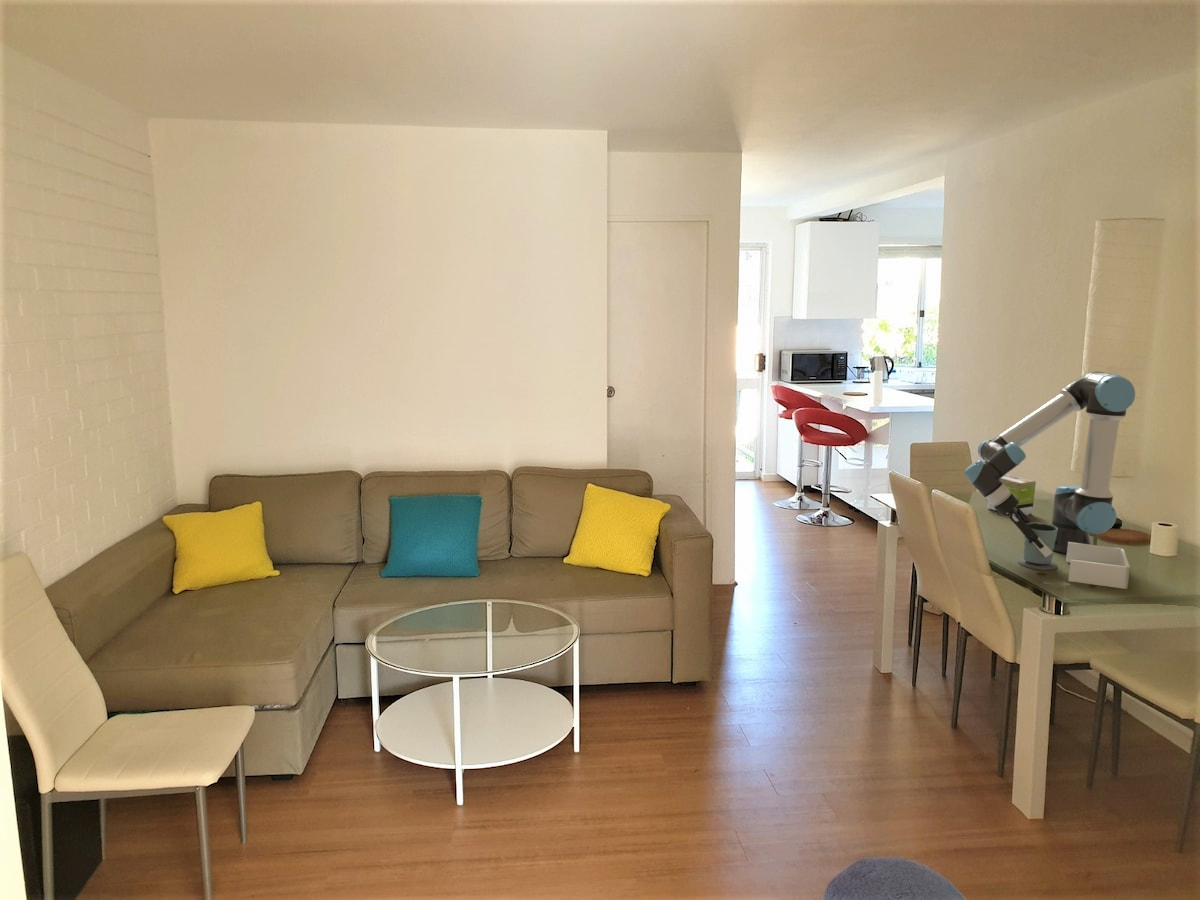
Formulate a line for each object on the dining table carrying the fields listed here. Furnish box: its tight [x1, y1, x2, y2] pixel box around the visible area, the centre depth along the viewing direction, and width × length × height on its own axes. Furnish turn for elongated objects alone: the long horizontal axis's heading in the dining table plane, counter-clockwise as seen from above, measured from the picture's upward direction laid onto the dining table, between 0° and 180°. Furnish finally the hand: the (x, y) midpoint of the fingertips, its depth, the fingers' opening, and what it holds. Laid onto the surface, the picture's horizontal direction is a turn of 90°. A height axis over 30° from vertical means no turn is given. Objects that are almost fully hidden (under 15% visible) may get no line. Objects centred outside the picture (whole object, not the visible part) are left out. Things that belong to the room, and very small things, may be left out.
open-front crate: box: [1065, 542, 1131, 590], centre depth 288 cm, size 23×16×7 cm
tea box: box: [987, 473, 1037, 516], centre depth 367 cm, size 15×10×15 cm
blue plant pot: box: [1023, 522, 1058, 564], centre depth 297 cm, size 10×10×12 cm
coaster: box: [1017, 557, 1058, 571], centre depth 299 cm, size 12×12×1 cm
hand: (1048, 550), depth 297 cm, fingers closed on blue plant pot, 10 cm apart
